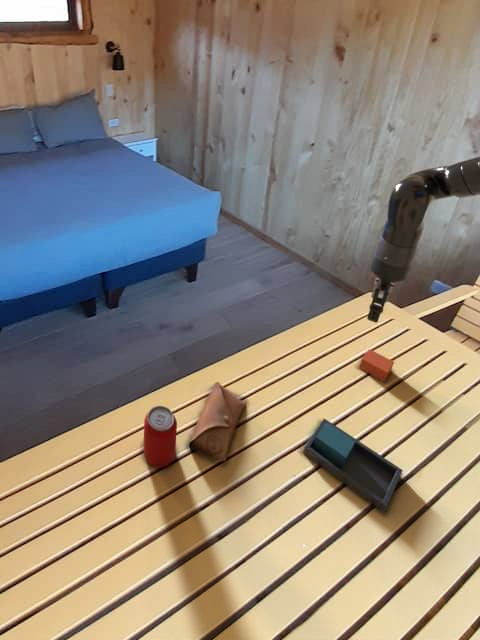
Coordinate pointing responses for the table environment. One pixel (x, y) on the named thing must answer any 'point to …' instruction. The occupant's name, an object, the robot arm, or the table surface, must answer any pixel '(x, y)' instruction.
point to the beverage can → (160, 436)
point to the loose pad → (376, 365)
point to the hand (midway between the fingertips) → (375, 310)
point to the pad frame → (360, 470)
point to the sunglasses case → (217, 423)
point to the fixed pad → (334, 445)
